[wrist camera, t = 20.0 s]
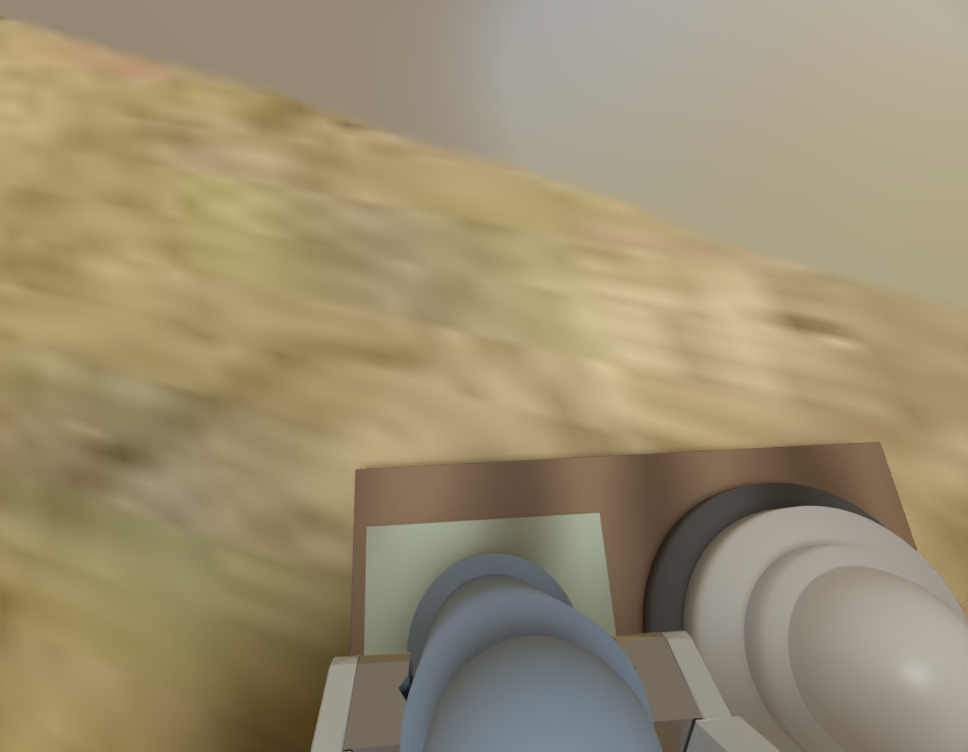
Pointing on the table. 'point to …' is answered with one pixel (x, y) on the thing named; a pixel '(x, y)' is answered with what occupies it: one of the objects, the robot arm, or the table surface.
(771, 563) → the dome
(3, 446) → the table surface
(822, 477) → the game board
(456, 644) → the pawn
